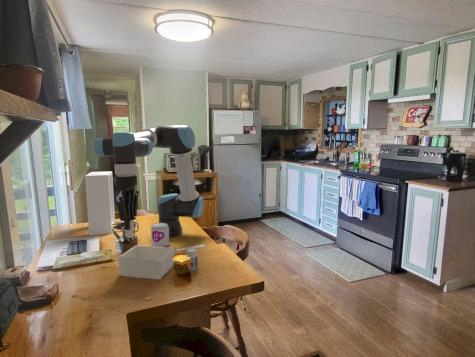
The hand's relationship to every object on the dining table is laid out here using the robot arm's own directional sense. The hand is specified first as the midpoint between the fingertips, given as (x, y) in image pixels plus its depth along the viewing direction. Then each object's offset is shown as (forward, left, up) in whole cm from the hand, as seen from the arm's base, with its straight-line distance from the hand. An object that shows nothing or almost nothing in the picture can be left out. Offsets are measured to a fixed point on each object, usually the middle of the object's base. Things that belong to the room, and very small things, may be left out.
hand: (129, 237), depth 114 cm
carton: (-13, 0, -19) cm, 23 cm away
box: (-63, -56, -19) cm, 86 cm away
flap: (-2, 0, -9) cm, 9 cm away
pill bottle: (-18, +18, -19) cm, 32 cm away
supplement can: (-30, -2, -19) cm, 35 cm away
